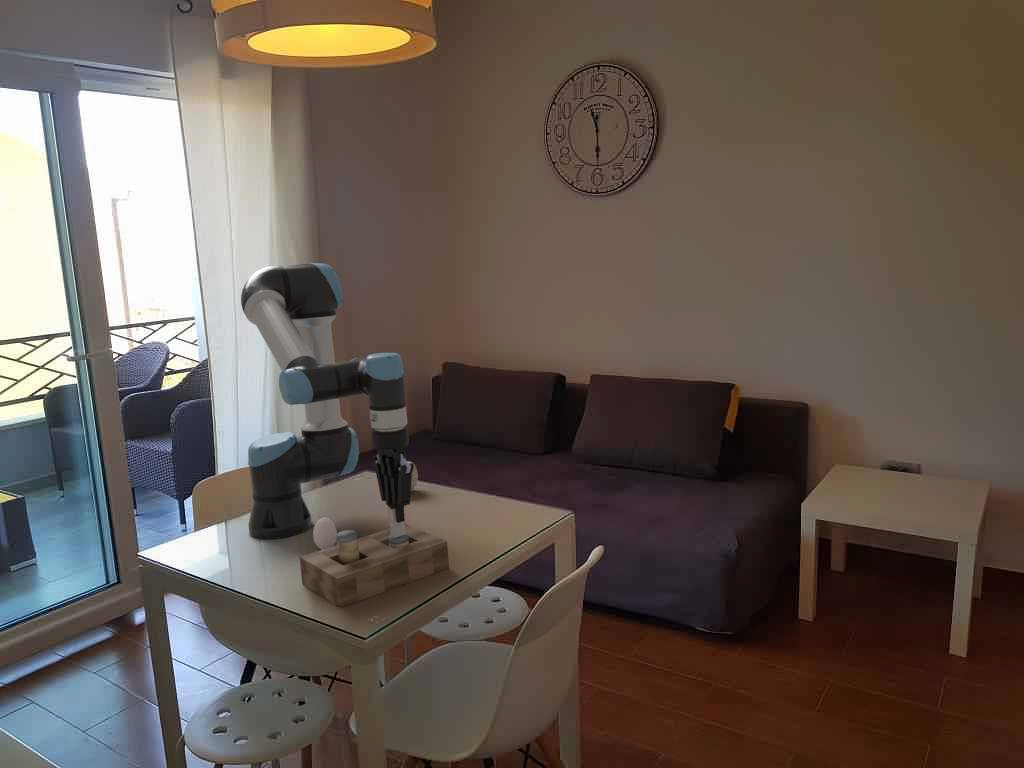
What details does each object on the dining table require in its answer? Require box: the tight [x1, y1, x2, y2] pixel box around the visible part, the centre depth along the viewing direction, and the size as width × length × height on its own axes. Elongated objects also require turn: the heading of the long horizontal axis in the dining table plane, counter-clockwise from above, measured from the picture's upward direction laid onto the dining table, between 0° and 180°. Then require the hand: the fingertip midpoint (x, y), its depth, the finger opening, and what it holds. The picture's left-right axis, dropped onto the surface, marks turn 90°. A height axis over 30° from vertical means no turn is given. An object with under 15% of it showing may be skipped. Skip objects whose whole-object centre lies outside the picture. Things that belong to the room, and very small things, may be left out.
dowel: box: [336, 529, 360, 565], centre depth 167 cm, size 4×4×6 cm
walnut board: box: [299, 523, 450, 609], centre depth 172 cm, size 16×26×6 cm, turn 131°
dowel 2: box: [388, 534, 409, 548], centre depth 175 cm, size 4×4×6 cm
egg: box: [312, 517, 338, 550], centre depth 188 cm, size 5×5×8 cm
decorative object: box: [406, 460, 419, 491], centre depth 228 cm, size 9×9×10 cm
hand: (398, 535), depth 175 cm, fingers closed
